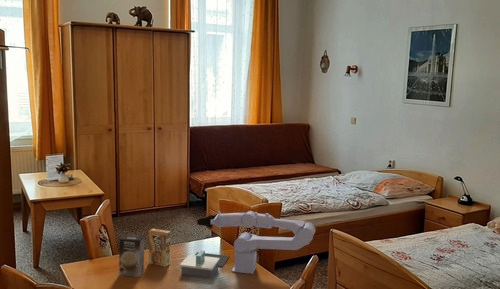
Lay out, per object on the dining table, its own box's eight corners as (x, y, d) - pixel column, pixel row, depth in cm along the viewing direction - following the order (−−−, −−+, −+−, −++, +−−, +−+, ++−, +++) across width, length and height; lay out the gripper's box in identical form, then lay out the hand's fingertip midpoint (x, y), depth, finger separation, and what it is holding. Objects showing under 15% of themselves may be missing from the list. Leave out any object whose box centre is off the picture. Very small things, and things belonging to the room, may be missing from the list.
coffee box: (118, 275, 196) (118, 238, 193) (123, 269, 202) (123, 233, 200) (139, 277, 195) (139, 240, 192) (144, 271, 201) (144, 235, 199)
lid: (219, 261, 207) (219, 250, 206) (211, 271, 195) (212, 260, 194) (189, 257, 209) (189, 246, 209) (179, 267, 198) (180, 256, 197)
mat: (229, 256, 221) (229, 256, 221) (222, 267, 208) (222, 266, 208) (197, 253, 224) (197, 252, 224) (188, 263, 212) (188, 262, 211)
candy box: (170, 263, 210) (170, 230, 208) (165, 267, 206) (166, 233, 204) (153, 260, 213) (153, 228, 211) (148, 263, 209) (148, 230, 207)
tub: (217, 268, 207) (218, 260, 206) (210, 278, 196) (211, 269, 196) (189, 265, 209) (190, 256, 209) (181, 275, 199) (181, 266, 198)
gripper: (234, 209, 213) (206, 210, 217) (223, 211, 199) (194, 213, 203) (235, 225, 212) (207, 226, 216) (224, 228, 198) (195, 229, 202)
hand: (200, 221), depth 209 cm, fingers open, 7 cm apart
